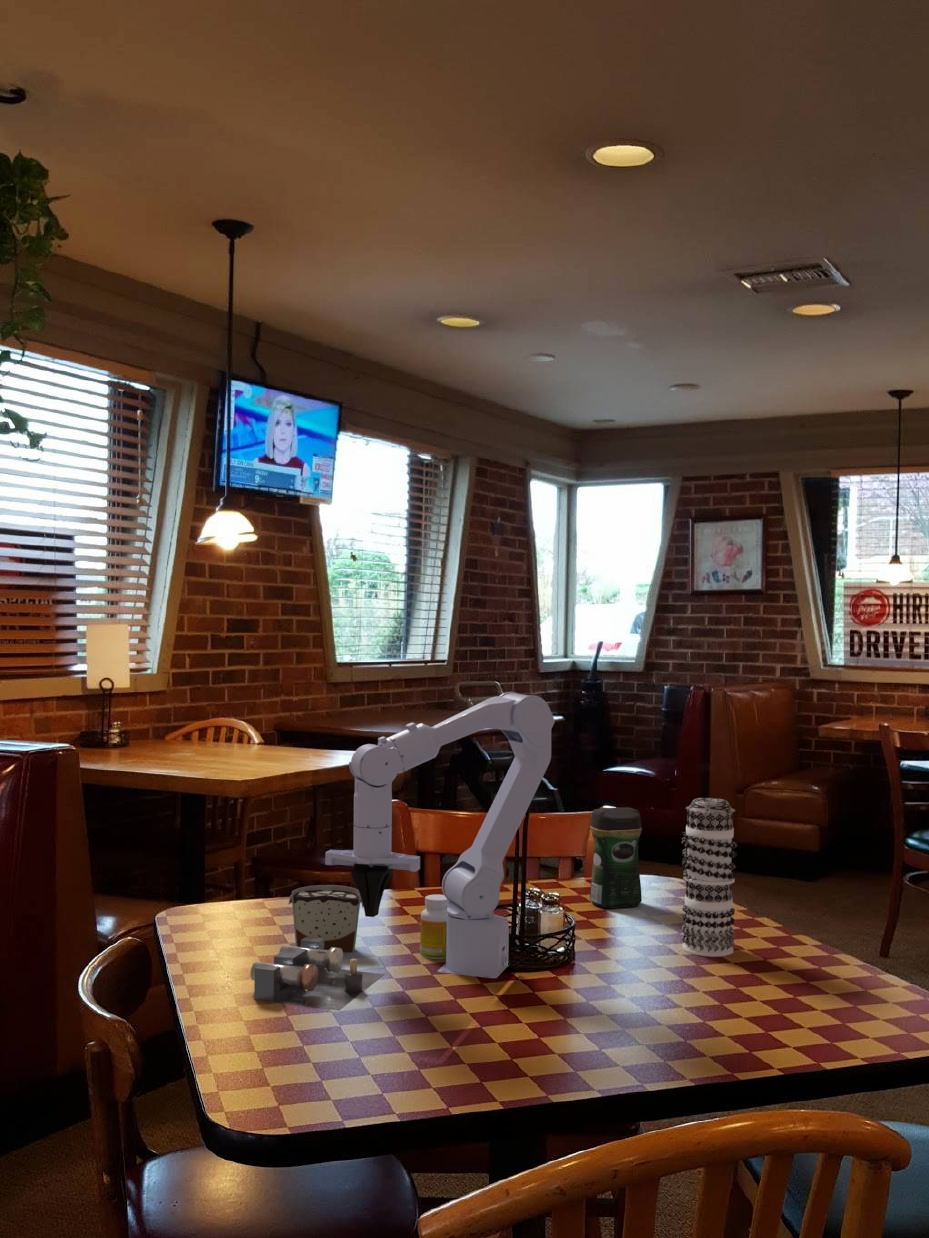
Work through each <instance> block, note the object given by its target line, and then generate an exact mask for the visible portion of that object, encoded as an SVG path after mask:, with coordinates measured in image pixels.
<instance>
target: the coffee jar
mask: <svg viewBox="0 0 929 1238" xmlns="http://www.w3.org/2000/svg"><path fill="white" fill-rule="evenodd" d="M641 820H642V819H641V814H640V812H639V810H637V809H634V808H632V807H605V808H595V809H593V810H592V814H591V822H590V832H591V834H592V837H593V859H592V869H591V870H592V871H591V880H590V890H589V899H590V902H591V903H592V904H593V905H595V906H597V907H601V908H602V907H603V908H608V909H609V908H611V909H618V908H630V907H636V906H639V905H640V904H641V903H642V884H641V874H640V866H639V865H640V863H639V840H640V836H641V833H642V831H643V830H642V822H641Z"/></svg>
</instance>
